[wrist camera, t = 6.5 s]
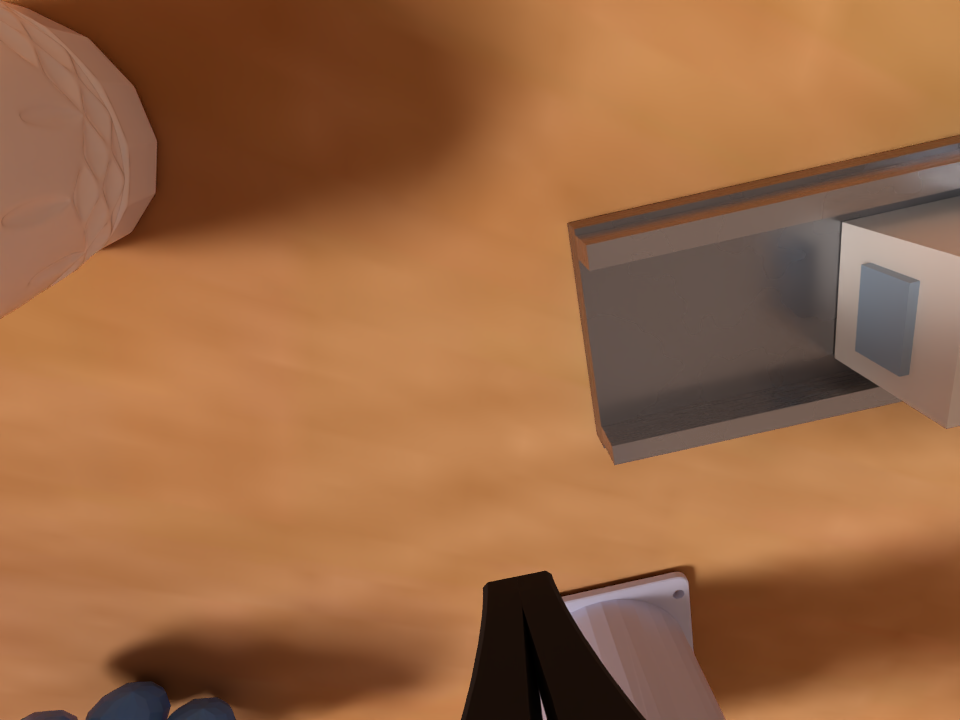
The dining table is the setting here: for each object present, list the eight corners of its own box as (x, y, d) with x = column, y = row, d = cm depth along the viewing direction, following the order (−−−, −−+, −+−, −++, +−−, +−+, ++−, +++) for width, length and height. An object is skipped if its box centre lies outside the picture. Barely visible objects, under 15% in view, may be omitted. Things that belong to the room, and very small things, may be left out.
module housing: (1053, 411, 24) (1246, 507, 19) (607, 510, 24) (663, 635, 19) (1135, 70, 19) (1443, 58, 13) (564, 199, 19) (623, 242, 13)
